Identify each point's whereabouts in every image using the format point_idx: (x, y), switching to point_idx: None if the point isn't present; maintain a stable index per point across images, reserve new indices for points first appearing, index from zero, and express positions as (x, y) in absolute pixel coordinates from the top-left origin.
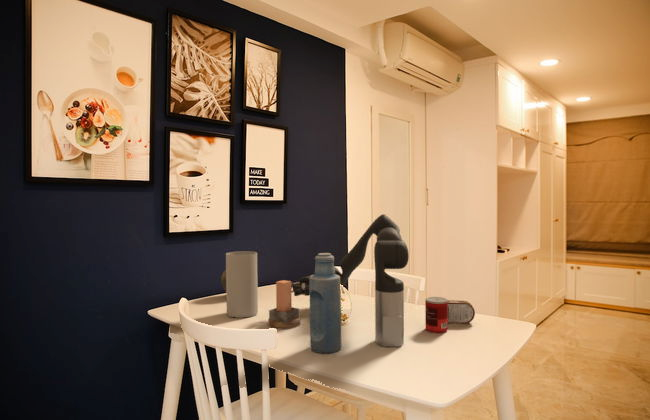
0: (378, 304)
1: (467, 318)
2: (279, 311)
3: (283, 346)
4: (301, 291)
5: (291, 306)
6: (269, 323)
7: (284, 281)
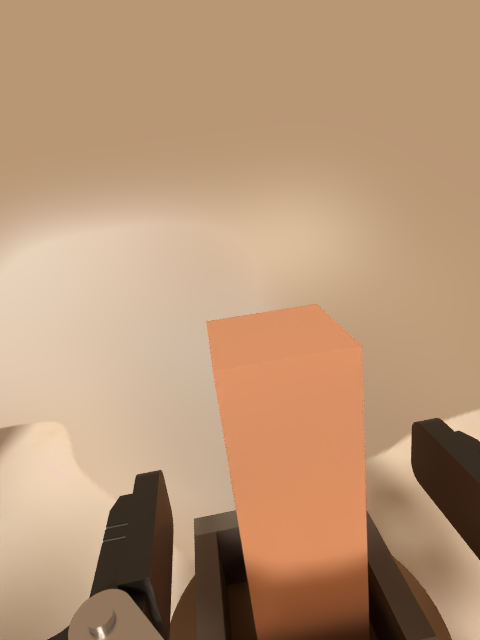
0: None
1: None
2: None
3: (66, 463)
4: (101, 569)
5: (255, 622)
6: None
7: (273, 335)
